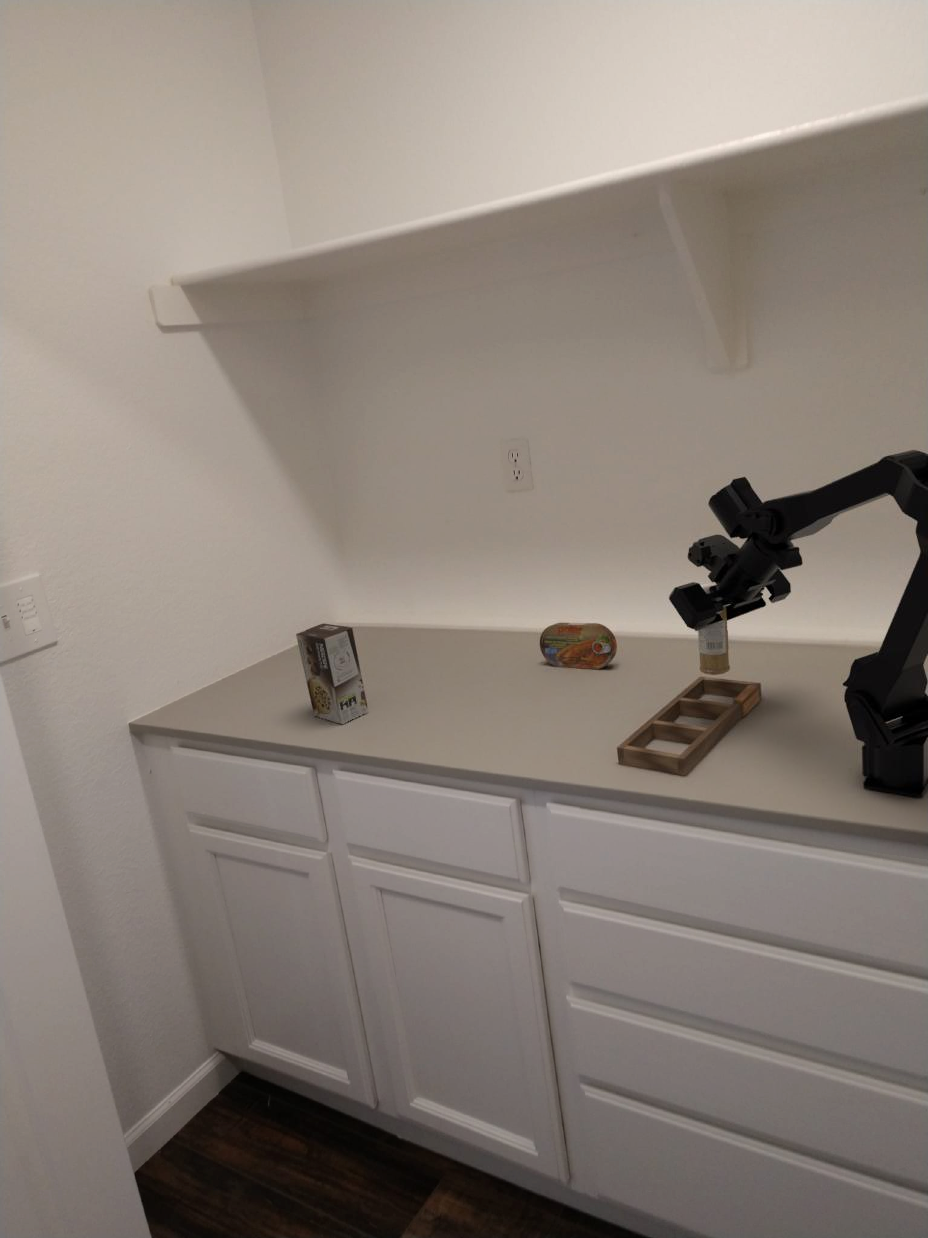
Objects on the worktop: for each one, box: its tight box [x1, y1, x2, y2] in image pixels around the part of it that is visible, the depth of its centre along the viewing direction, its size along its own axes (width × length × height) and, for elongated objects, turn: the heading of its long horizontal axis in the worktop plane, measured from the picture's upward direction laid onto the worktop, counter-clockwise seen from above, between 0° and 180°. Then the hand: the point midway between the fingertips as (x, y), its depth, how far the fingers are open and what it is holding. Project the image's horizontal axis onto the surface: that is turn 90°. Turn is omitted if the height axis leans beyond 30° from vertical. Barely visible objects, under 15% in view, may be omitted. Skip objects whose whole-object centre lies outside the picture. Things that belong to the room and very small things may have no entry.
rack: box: [616, 676, 762, 777], centre depth 126 cm, size 10×28×3 cm, turn 141°
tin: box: [539, 622, 618, 670], centre depth 158 cm, size 15×3×8 cm, turn 56°
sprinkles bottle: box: [697, 583, 731, 676], centre depth 129 cm, size 5×5×14 cm
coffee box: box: [295, 623, 369, 725], centre depth 152 cm, size 9×6×16 cm
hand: (706, 624), depth 130 cm, fingers closed on sprinkles bottle, 4 cm apart
